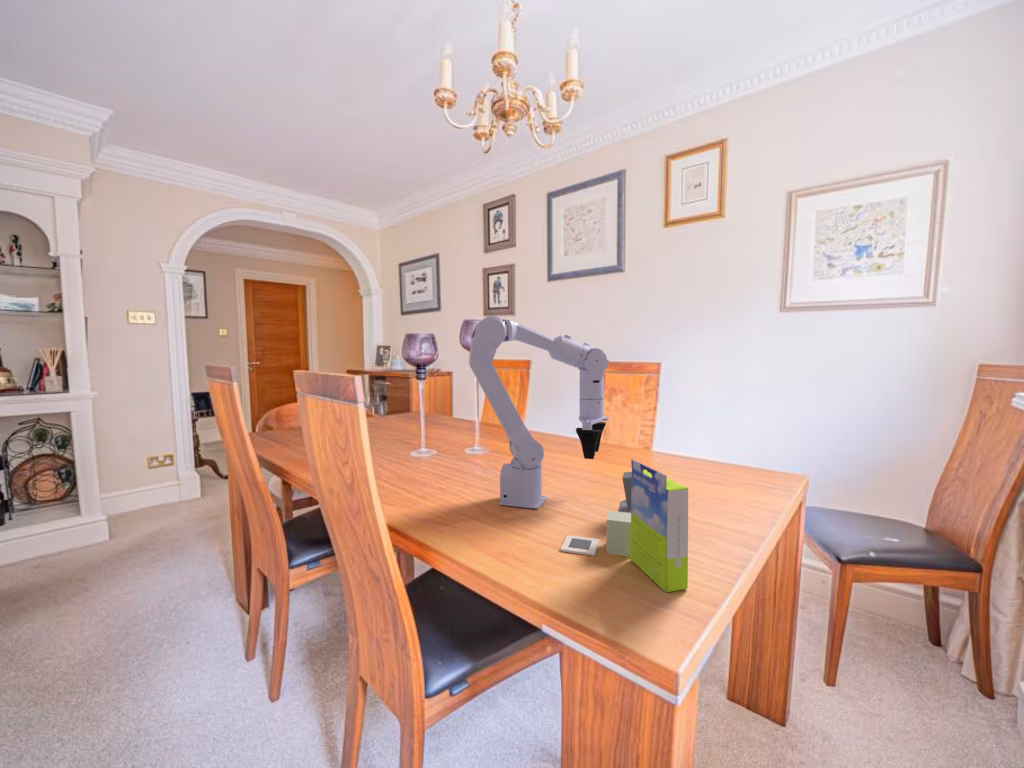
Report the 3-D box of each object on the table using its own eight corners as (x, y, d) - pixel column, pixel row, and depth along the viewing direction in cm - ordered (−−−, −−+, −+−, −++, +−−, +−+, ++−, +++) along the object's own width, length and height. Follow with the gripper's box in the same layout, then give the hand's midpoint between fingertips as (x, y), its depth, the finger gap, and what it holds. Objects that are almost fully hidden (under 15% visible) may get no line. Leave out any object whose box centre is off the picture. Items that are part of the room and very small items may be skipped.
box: (689, 590, 62) (691, 473, 60) (664, 594, 61) (665, 476, 60) (649, 557, 72) (651, 456, 71) (627, 559, 71) (628, 458, 70)
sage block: (606, 553, 73) (606, 519, 73) (609, 542, 78) (609, 510, 77) (633, 557, 72) (633, 522, 72) (634, 545, 76) (634, 513, 76)
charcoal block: (627, 507, 86) (622, 478, 86) (628, 500, 90) (624, 472, 90) (650, 505, 85) (645, 476, 85) (650, 498, 89) (645, 470, 89)
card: (560, 551, 74) (560, 548, 74) (567, 537, 80) (567, 534, 80) (594, 556, 72) (594, 553, 72) (599, 541, 78) (599, 538, 78)
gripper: (605, 402, 93) (604, 463, 93) (611, 396, 106) (611, 449, 107) (573, 401, 95) (573, 461, 96) (583, 395, 109) (583, 447, 109)
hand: (591, 454), depth 102 cm, fingers open, 7 cm apart
